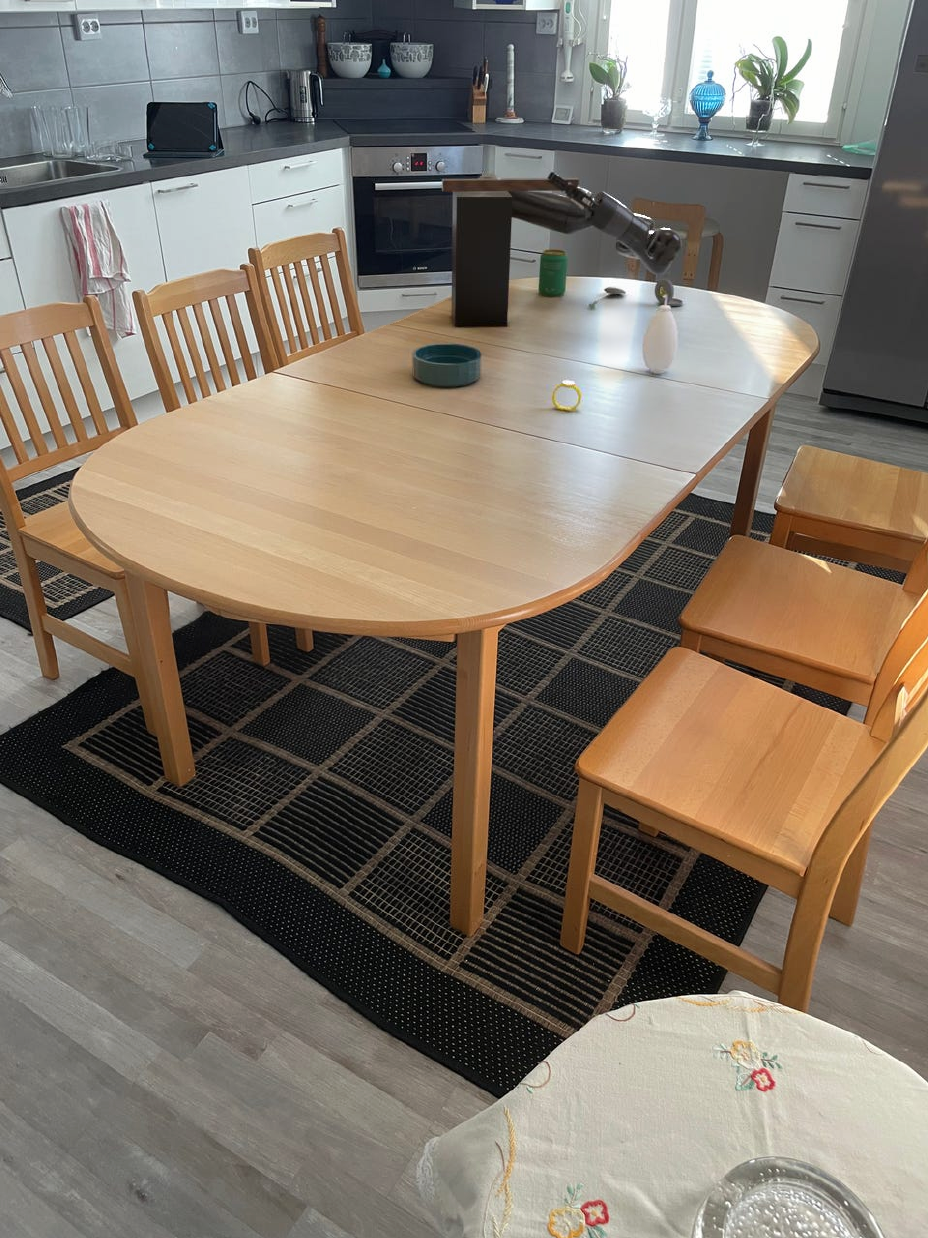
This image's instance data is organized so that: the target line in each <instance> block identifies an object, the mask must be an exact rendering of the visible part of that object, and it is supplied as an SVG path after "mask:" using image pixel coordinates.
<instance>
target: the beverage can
mask: <svg viewBox="0 0 928 1238" xmlns="http://www.w3.org/2000/svg"><path fill="white" fill-rule="evenodd" d="M539 258H540V259H539V275H538V292H539V295H541V296H542V297H549V298H559V297H563V296H564V294H565V293H566V286H567V275H568V274H567V272H568V262H569V261H568V260H569V256H568V254H567V251H566V250H563V249H555V248H554V249H553V248H552V249H550V248H549V249H543V251H542V253H541V255H540V257H539Z"/></svg>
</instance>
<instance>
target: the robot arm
mask: <svg viewBox="0 0 928 1238" xmlns="http://www.w3.org/2000/svg"><path fill="white" fill-rule="evenodd" d="M547 178H551V179H550V183H551V184H553V185H554V186H556V187H557V188H559V189H560V190H563V191H561V192H562V193H563V194H559V193H554V192H548V191H508V192H509V194H510V195H511V196H512V197H513V202H512V219H517V220H520V221H523V222H526V223H528V224H531V225H534V226H537V227H540V228H544V229H546V230H549V231H552V232H557V233H559V234H560V233H561V234H564V235H573V234H574V235H575V234H578V233H580V232H583V231H586V230H589V229H591V228H593V227H594V228H596V229H598V230H599V231H600V232H602V233H603V234H605V235H606V236H608V237H610V238H612V239H614V240H615V243H614V249H615V252H616V253H617V254H619V255H620V256H622V257H624V258H628V259H632V260H640V262H641V264H642V265H643V266H644V268H646V270H647V271H648V272H650V273H651V274H653V275H658V276H660V275H664V274H666V273H667V271H669V268H670V267H671V266H672V265H671V264H672V263H673V262H674V260H675V259H676V257H677V255H678V254H679V252H680V251H681V250H682V249H681V248H682V246H683V239H682V237H681V235H680V234H679V233H678V232H677V231H675V230H674V229H672V228H665V227H663V228H659V229H656V230H655V227H656V222H655V220H653V219H652V218H650V217H647V216H645V215H641V214H638V213H634V212H633V211H631V210H630V209H629V208H628V206H626V205H624V204H622V203H621V202H620V201H619V200H617V199H615V198H614V197H612V196H611V195H609V194H608V193H606V192H605V191H600V192H598V193H597V194H596V195H595V197H593V195H594V194H593V193H592V192H590V191H589V190H587V189H586V188H582V187H581V186H580V185H579V186H575V185H572V184H571V183H570V182H568V183H567V181H565V180H564V179H562V178H563V177H562V176H560V175H558V174H557V173H555V172H554V171H550V173H549V174H548V176H547ZM477 179H501V178H500V177H499V176H498V175H496V174H493V173H484V174H482V175H480V176H478V178H477ZM663 273H664V274H663Z"/></svg>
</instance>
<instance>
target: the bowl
mask: <svg viewBox="0 0 928 1238" xmlns="http://www.w3.org/2000/svg"><path fill="white" fill-rule="evenodd" d="M482 355H483V354H482V352H481V351H480V350H479V349H477V348H475V347H473V346H469V345H466V344H459V343H431V344H425V345H422V346H419V347H417V348H416V349H413V351H412V352H411V374H412V377H413V378H414V379H416V380H417V381H419V382H420V383H422V384H425V385H427V386H431V387H437V388H457V387H464V386H467V385H470V384H473V383H474V382H476V381H477V380H479V379H480V378H481V376H482V357H483V356H482Z"/></svg>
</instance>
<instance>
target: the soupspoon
mask: <svg viewBox="0 0 928 1238" xmlns="http://www.w3.org/2000/svg"><path fill="white" fill-rule="evenodd" d="M603 291H604V292H605V294H603V295H602V296H601V297H599V298H598V299H597V300H594V301H593V302H591V303H589V304H588V308H589V309H590V310H594V309H595V307H596V305H597V304H598V303H599V302H601V301H602V300H604V299H605V298H606V297H609V296H611V295H617V294H624V295H625V294H627V292H626V290H624V289H622V288H621V287H618V286H608V287H605V288H604V289H603Z"/></svg>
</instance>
